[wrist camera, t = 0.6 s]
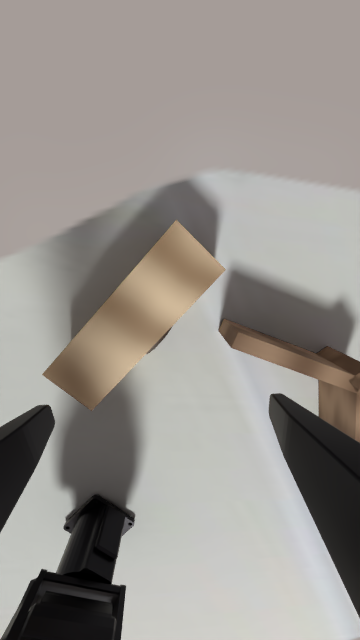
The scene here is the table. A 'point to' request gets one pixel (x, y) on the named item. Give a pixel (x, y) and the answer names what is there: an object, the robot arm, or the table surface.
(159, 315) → the beam
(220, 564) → the table surface
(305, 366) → the v block
